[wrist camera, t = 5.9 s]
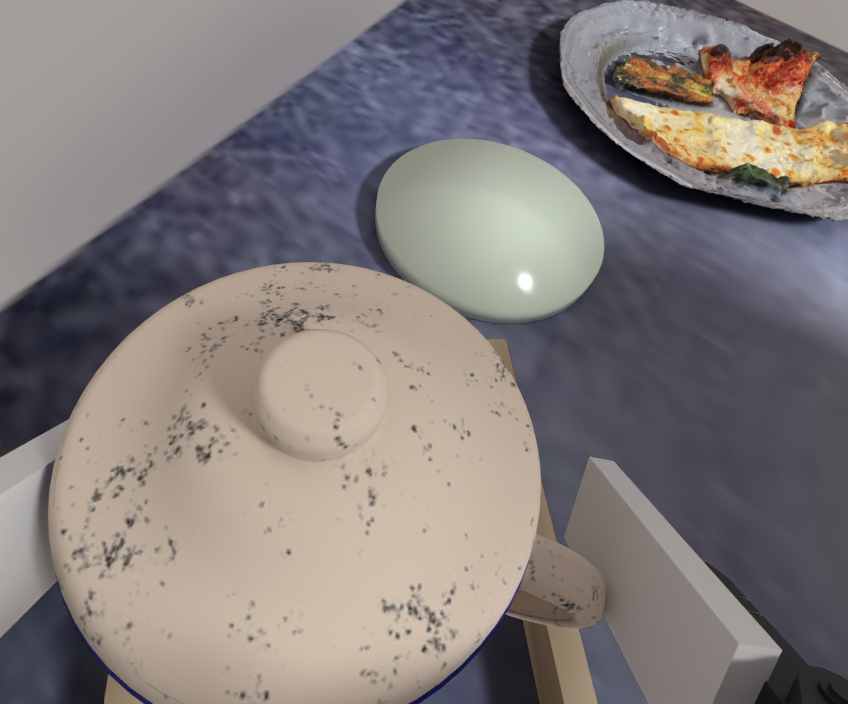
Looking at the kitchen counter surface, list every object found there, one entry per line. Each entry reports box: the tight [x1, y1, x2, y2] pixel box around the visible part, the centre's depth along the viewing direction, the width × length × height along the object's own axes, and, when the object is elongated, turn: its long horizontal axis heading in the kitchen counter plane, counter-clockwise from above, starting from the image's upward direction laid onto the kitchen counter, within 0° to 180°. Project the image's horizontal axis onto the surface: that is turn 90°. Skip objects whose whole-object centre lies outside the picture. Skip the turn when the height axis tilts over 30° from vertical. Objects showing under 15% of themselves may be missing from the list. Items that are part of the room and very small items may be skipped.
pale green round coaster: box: [375, 139, 604, 324], centre depth 25 cm, size 12×12×1 cm
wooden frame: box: [104, 339, 598, 704], centre depth 15 cm, size 13×16×2 cm
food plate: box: [559, 0, 848, 221], centre depth 34 cm, size 25×23×4 cm
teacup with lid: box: [48, 262, 606, 704], centre depth 12 cm, size 12×9×12 cm
